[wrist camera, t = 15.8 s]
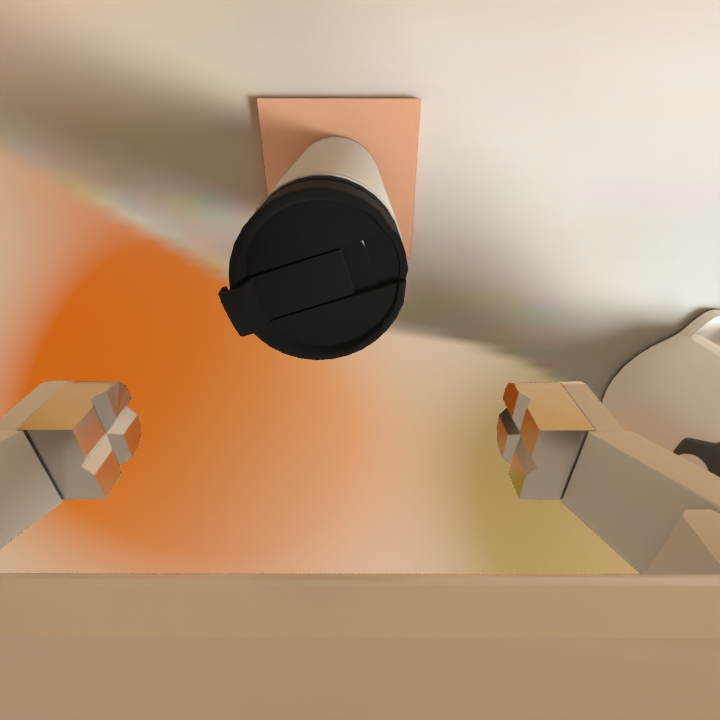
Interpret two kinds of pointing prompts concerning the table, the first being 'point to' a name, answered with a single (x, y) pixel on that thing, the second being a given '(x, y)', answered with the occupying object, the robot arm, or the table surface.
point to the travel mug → (319, 257)
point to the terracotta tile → (352, 120)
